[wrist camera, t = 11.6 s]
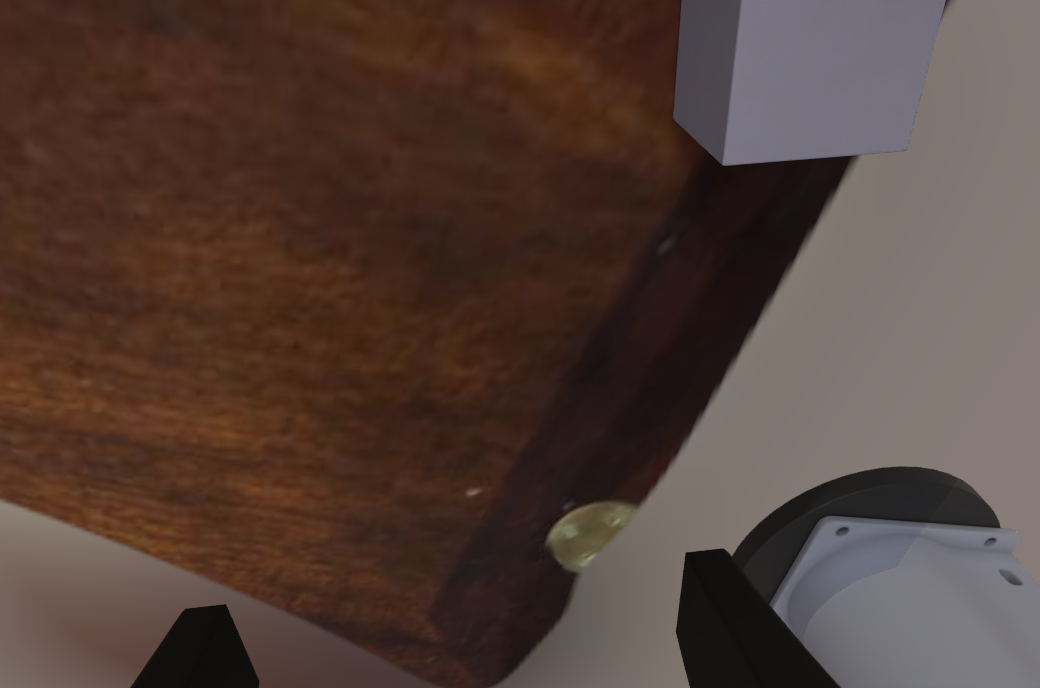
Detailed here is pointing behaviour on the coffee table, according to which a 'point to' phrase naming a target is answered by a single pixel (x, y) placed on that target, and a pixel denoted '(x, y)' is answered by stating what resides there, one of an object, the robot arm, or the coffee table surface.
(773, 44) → the gray rectangular block
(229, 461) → the coffee table surface
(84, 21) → the coffee table surface
